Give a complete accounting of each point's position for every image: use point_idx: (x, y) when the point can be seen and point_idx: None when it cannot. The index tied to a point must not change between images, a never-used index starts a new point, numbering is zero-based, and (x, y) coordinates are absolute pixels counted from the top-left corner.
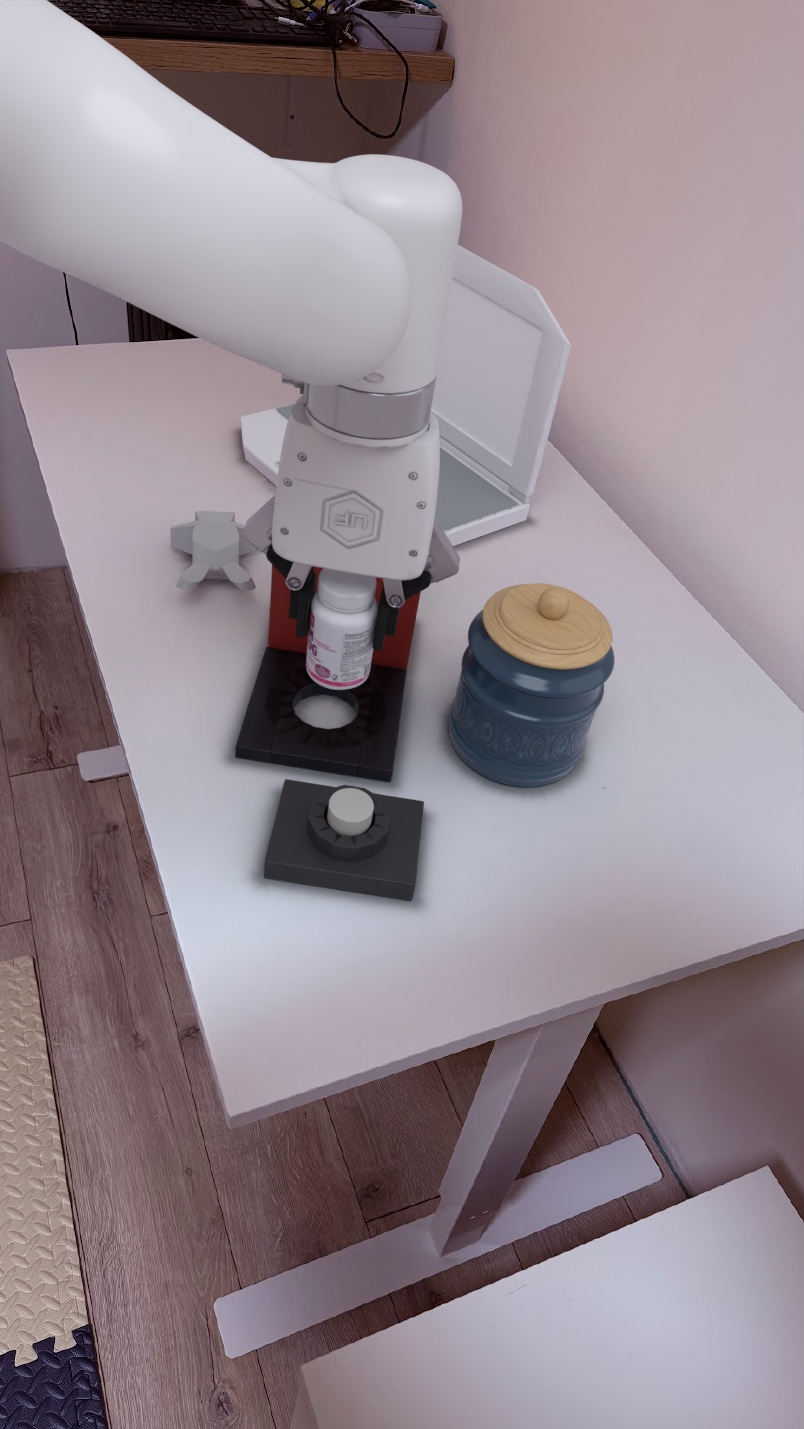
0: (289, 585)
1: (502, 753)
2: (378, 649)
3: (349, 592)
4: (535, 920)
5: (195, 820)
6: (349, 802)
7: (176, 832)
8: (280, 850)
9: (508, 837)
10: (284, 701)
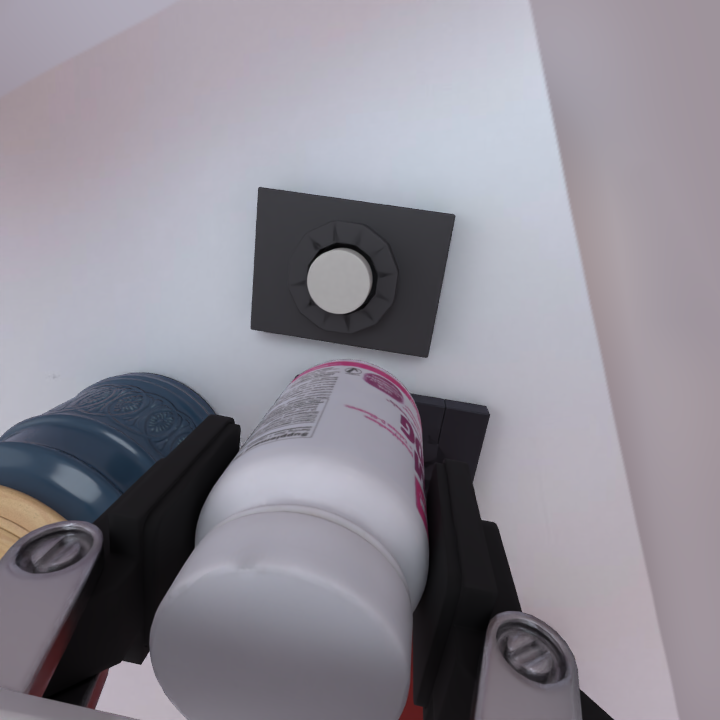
0: (546, 637)
1: (147, 397)
2: (219, 417)
3: (260, 591)
4: (122, 170)
5: (537, 304)
6: (341, 286)
7: (562, 284)
8: (434, 234)
9: (158, 297)
10: (427, 488)
